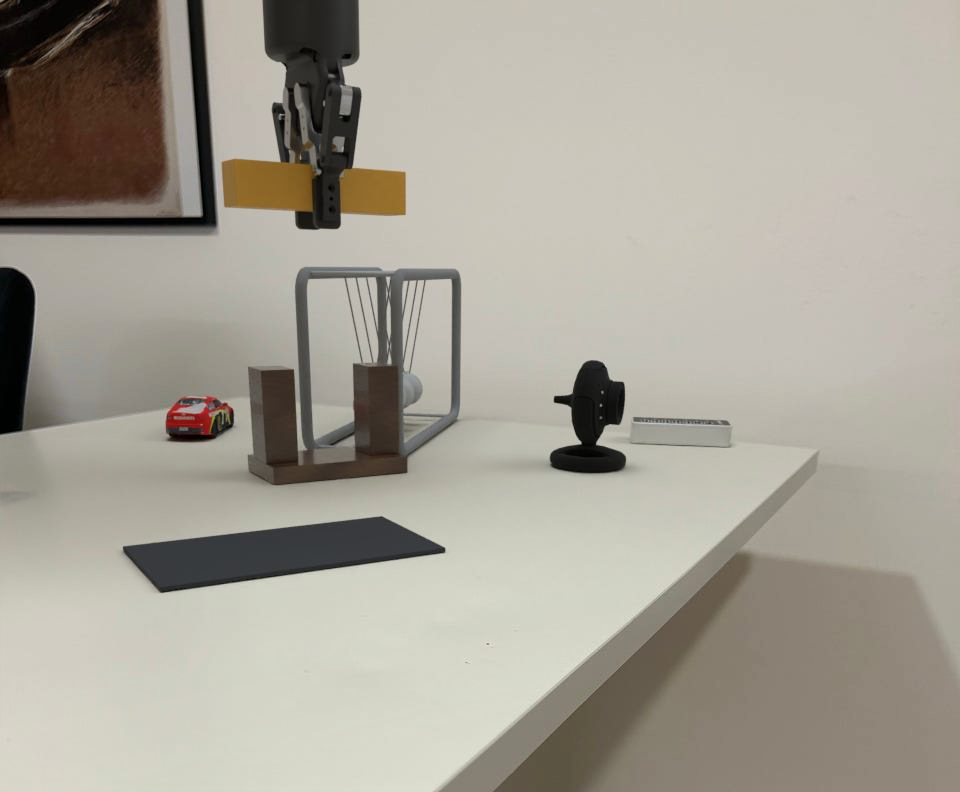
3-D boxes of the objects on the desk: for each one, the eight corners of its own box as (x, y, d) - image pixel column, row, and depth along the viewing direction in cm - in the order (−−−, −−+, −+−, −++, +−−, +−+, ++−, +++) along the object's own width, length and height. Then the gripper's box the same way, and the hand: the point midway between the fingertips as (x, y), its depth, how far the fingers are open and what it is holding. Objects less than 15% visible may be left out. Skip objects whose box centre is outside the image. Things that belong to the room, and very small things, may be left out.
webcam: (617, 475, 92) (624, 365, 88) (540, 469, 94) (544, 361, 91) (632, 461, 99) (640, 358, 95) (560, 455, 101) (565, 355, 98)
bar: (237, 205, 78) (234, 158, 77) (223, 207, 81) (221, 161, 79) (406, 215, 85) (405, 171, 84) (388, 216, 88) (388, 174, 87)
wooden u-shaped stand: (274, 485, 85) (267, 372, 82) (248, 470, 91) (241, 364, 88) (407, 472, 92) (407, 367, 88) (375, 459, 97) (374, 360, 94)
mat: (160, 592, 57) (160, 587, 57) (123, 550, 65) (122, 546, 65) (445, 551, 67) (445, 547, 66) (382, 519, 75) (382, 516, 74)
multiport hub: (629, 436, 114) (631, 416, 113) (726, 440, 112) (728, 420, 112) (630, 443, 109) (631, 422, 109) (730, 447, 108) (733, 425, 107)
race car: (195, 423, 117) (192, 389, 116) (240, 424, 117) (238, 390, 116) (158, 440, 105) (154, 402, 104) (208, 442, 105) (205, 403, 104)
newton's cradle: (380, 415, 126) (378, 267, 120) (460, 418, 125) (462, 268, 118) (301, 455, 99) (292, 266, 92) (402, 461, 97) (400, 268, 91)
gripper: (235, 2, 81) (247, 228, 87) (298, -38, 70) (307, 225, 76) (320, 16, 85) (326, 232, 91) (393, -20, 73) (394, 229, 80)
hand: (318, 228), depth 83 cm, fingers closed on bar, 3 cm apart
